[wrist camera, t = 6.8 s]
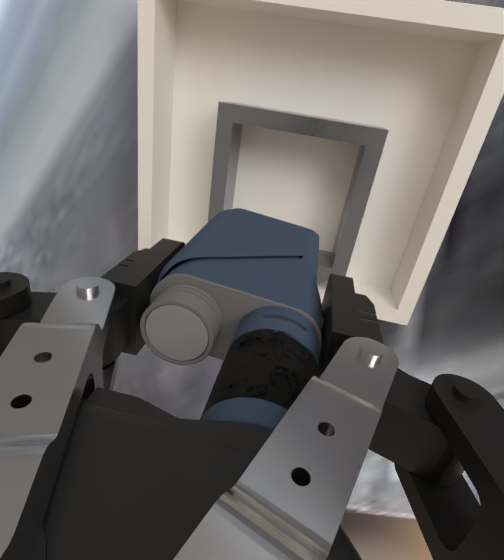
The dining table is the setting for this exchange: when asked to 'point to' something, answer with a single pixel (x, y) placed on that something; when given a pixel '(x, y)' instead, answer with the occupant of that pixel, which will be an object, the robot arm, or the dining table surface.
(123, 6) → the dining table surface
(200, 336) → the vaping device
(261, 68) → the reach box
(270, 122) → the inlet socket
